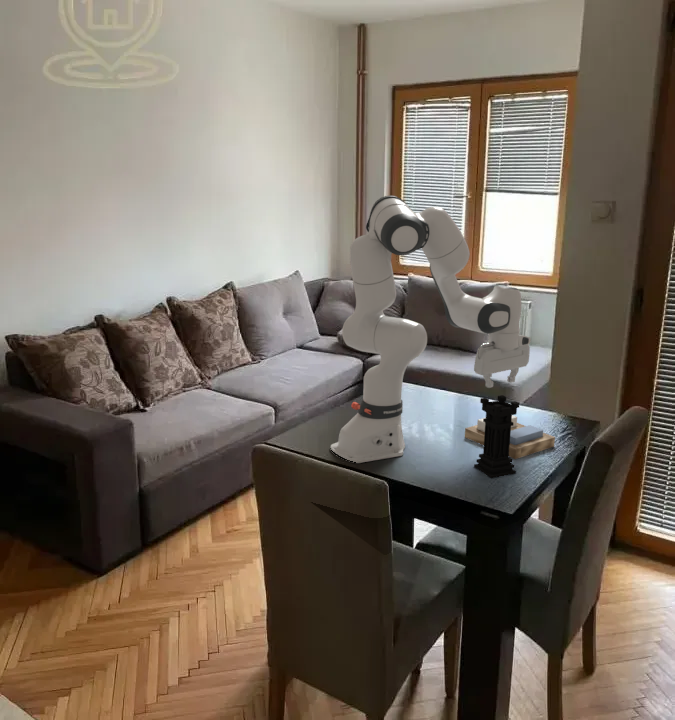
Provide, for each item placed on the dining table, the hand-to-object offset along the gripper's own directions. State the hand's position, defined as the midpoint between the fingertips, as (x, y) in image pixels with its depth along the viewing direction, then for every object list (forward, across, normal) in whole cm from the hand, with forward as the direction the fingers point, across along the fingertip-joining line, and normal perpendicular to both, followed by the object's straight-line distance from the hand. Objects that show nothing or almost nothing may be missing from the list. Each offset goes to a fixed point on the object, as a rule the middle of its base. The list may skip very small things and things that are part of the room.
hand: (500, 384), depth 204 cm
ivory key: (+14, 0, 0) cm, 14 cm away
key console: (+17, 0, -5) cm, 18 cm away
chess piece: (+17, -19, -17) cm, 31 cm away
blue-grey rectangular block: (+15, 0, -10) cm, 18 cm away
